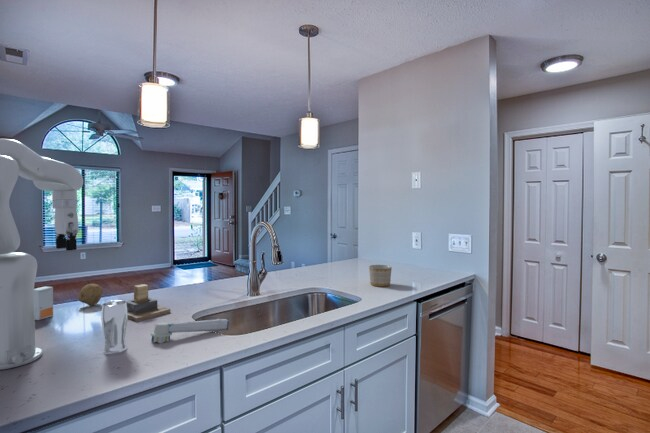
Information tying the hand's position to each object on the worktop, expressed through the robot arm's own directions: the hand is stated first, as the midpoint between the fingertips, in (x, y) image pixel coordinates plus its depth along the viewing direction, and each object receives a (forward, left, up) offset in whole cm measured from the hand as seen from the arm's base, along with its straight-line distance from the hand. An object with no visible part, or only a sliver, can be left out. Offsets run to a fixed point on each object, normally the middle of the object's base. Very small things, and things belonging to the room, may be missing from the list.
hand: (66, 249), depth 132 cm
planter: (-73, -125, -29) cm, 148 cm away
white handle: (-51, -19, -29) cm, 62 cm away
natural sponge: (+16, -14, -28) cm, 36 cm away
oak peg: (-12, -22, -27) cm, 37 cm away
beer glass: (-43, +2, -28) cm, 52 cm away
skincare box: (+14, +4, -28) cm, 32 cm away
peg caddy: (-12, -22, -28) cm, 38 cm away
